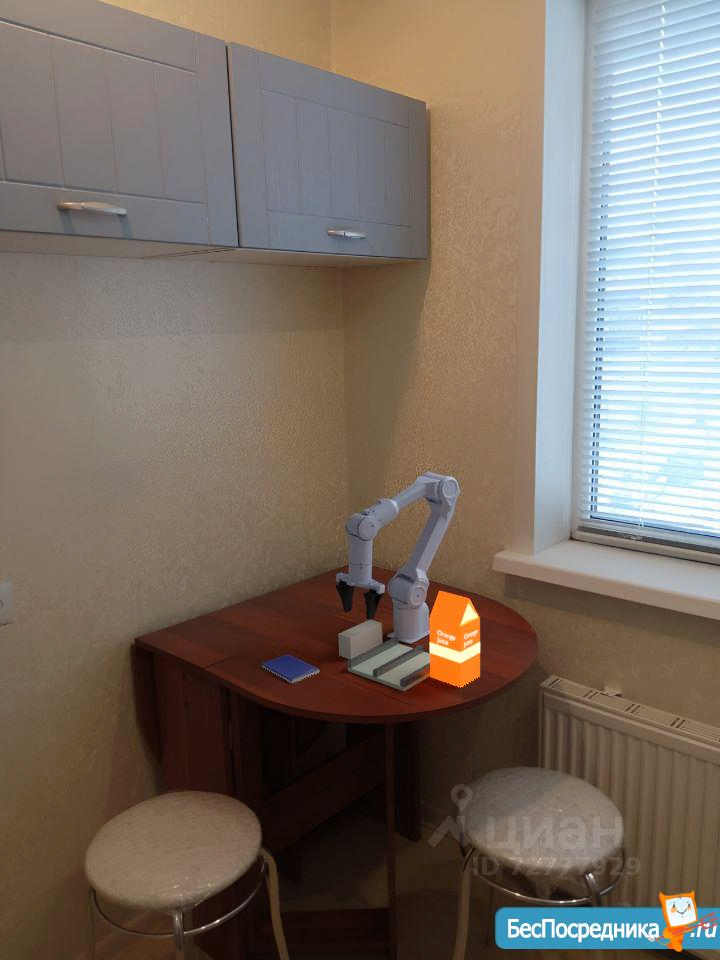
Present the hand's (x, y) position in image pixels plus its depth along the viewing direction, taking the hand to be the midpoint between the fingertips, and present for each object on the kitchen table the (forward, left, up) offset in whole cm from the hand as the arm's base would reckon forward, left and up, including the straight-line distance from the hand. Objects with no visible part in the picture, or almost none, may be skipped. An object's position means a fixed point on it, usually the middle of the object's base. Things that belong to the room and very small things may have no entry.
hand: (359, 615), depth 189 cm
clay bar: (0, 0, -10) cm, 10 cm away
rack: (+2, +14, -10) cm, 17 cm away
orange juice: (-2, +27, -10) cm, 29 cm away
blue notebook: (+18, -6, -10) cm, 22 cm away
